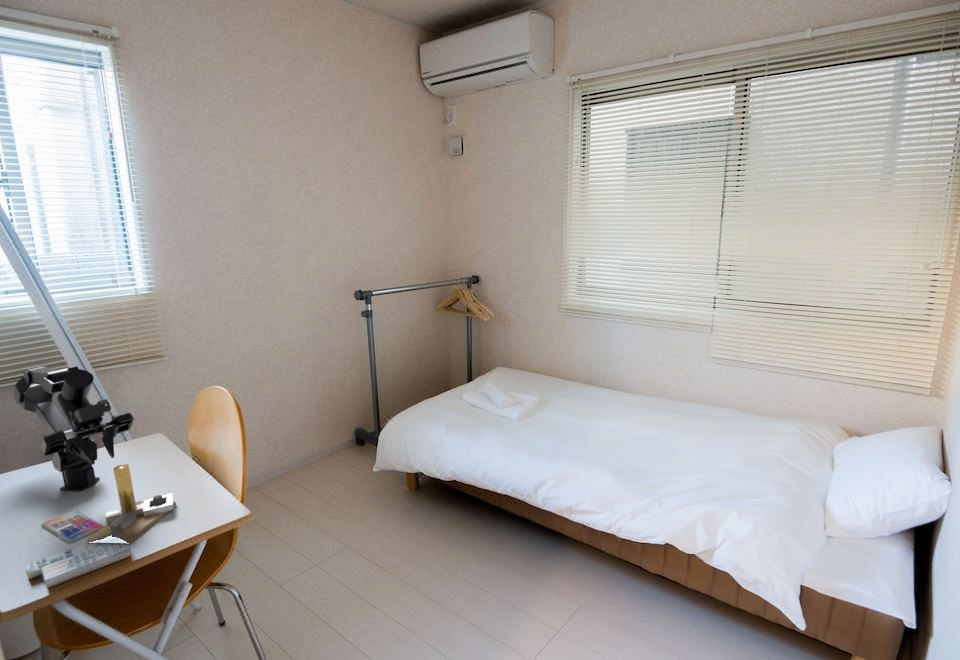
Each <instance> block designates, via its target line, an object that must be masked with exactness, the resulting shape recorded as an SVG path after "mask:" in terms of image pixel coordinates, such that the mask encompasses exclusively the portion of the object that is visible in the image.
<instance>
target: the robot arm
mask: <svg viewBox="0 0 960 660" xmlns="http://www.w3.org/2000/svg"><path fill="white" fill-rule="evenodd" d="M93 382H94V375H93V374H92V373H91V372H89V371H88V370H86V369H80V368H79V367H78V366H77V365H75V366H69V367H65V368H61V369H60V368H59V369H54V368H49V367H48V366H40V367H33V368H29V369H26V370H24V371H23V375H22V377H21V378H20V379H19V380H18V381H17V382H16V383H15V385H14V390H13V391H14V392H13V396H14V400H15V403H16V404H18V405H20V406H21V407H22V409H23V410H25V411H28V412H32V413H35V414H36V416H37V417H38V418H39V420H40V421H41V422H42V424H43V426H45V428H46V430H47V431H48V434H44V436H43V437H42V439H41V445H40V449H41V452H42V454H43V456H49V455H53V456H52V460H51V461H52V465H53V468H54V469H55V470H57V471H58V472H59V473H61V475H62V479H63V484H64V485H63V486H61V487H60V488H59V490H60V491H78V492H79V491H83V490H85V489H87V488H88V487H89V486H91V485H93V484H95V483H96V482H98V481H99V480H100V477H99V476H98V477H97V476H96V473H95V469H94V466H93V465H95V463H96V462H95V461H98V443H97V442H95V440H94V438H93V439H92V438H91V436H95V435H97V434H102V439H101V440H102V443H103V445H104V446H105V449H106V451H107V453H108V455H109V456H110V458H111V459H114V457H115V447H114V439H115V438H116V436H117V434H121V433H124V432H128V431H129V430H131V428H132V425H133V423H134V420H135V418H134V415H132V413H131V412H128V411H125V412H122V413H119V414H114V415H112V416H111V420H110V421H108V422H104V423H103V419H104V418H103V417H104V416H105V414H106V413H109V412H110V411H111V410H112V407H111V404H110V402H109V401H108V398H103V399H99V400H98V401H97V402H96V403H95V404H93V403H92V404H91V403H90V401H89V399H88V396H90V393H91V389H92V386H93ZM57 393H59V395H58V396H57V397H56V401H57V404H58V406H59V407H58V406H57V404H56V403H55V394H57ZM60 409H61V410H60Z"/></svg>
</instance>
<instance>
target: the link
mask: <svg viewBox="0 0 960 660" xmlns="http://www.w3.org/2000/svg"><path fill="white" fill-rule="evenodd" d="M113 473H114V479H115V484H116V489H117V496H118V500H119V506H120V508H119V509H116V510H115V509H114V510H111V511H107V512H106V514H105V515H106V516H105V520H106V524H108V523H111V522H113V521H115V520H116V519H117V518H119V517H120V516H121V515H136V516H138V515H142V514H144V517H147V516H151V515H155V514H158V513H162V512H166V511H169V512H170V511H174V508H173V502H174V497H173V496H174V494H173V493H168V494H165V495H162V498H163V503H166V504H162V505H158V506H154V504H153V497H152V498H147V499H144V500H143V501H144V503H143V504H139V505H136V502H137V501H136V497H135V492H134V487H133V481H132V477H131V476H132V475H131V470H130V464H127V463H124V464H123V463H122V464H118V465H117V466H114V467H113ZM151 506H154V507H151Z"/></svg>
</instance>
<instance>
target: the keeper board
mask: <svg viewBox="0 0 960 660" xmlns="http://www.w3.org/2000/svg"><path fill="white" fill-rule="evenodd" d="M162 496H163V495H160V494H159V495H155V496H153V497H152V498H153V504H154V506H158V505H162V504H166V503H163V498H162ZM135 502H136V505H139V504H143V503H144V500H138V501H135ZM154 506H151V507H154ZM176 506H177V503H176V501H173V509H174V508H175V507H176ZM169 512H170V511H166V512H162V513H158V514H155V515H151V516H147V517H144V514H142V515H138V516H136V515H121V516H120V517H119V518H117V519H116V520H115V521H113V522H111V523H106V524H105V525H103V526H104V527H102V528H101V529H100V530H98V531H97V532H95V533H93V534H91V535H89V537H88V538H86V542H87V544H90V543H89V542H93V541H96V540H101V539H104V538H106V537H108V536H111V535H112V537H117V538H120V539H122V540H124V541H126V542H127V543H129V544H128V545H130V544H132V543H133V542H134V541H135V540H136V539H138V538H139V537H140V536H141V535H143V534H145V532H147V530H149V529H150V528H152V527H153V525H155V524H156V523H157V522H158V521H159V520H160V519H162V518H163V517H164V516H165V515H167V514H168V513H169Z"/></svg>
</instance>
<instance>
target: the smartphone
mask: <svg viewBox="0 0 960 660" xmlns="http://www.w3.org/2000/svg"><path fill="white" fill-rule="evenodd" d="M104 526H105V525H103V524H101V523H100V522H98V521H96V520H94V519H92V518H90V517H89V516H87V515H85V514H83V513H82V512H79V511H78V510H72V511H68V512H66V513H64V514H61V515H58V516H56V517H54V518H51V519H49V520H46V521H44V522H43V523H41V527H42V528H43V529H45V530H47V531H48V532H50V533H52V534H53V535H55V536H56V537H58V538H59V539H60V540H62V541H64V542H66V543H67V544H72V543H75V542H78V541H81V540H82V539H85V538H87V537H88V536H89V537H90V536H92V535H93V534H94V533H96V532H97V531H98V530H100V529H101V528H102V527H104Z"/></svg>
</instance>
